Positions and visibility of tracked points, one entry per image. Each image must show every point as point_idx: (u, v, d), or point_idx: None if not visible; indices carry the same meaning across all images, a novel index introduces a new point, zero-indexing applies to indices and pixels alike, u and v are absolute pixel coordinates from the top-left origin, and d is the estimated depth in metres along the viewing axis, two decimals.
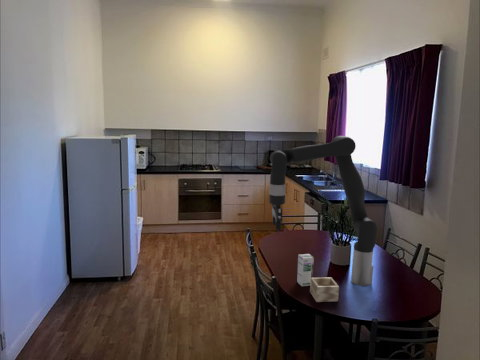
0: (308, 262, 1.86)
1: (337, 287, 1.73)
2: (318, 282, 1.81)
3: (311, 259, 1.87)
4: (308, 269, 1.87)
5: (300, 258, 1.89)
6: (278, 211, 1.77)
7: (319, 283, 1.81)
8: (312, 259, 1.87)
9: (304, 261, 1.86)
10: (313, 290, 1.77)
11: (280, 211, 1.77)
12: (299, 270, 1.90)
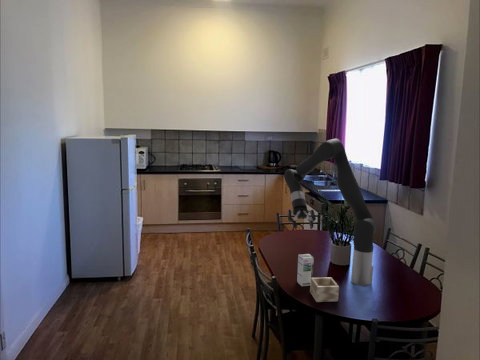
0: (308, 262, 1.86)
1: (337, 287, 1.73)
2: (318, 282, 1.81)
3: (311, 259, 1.87)
4: (308, 269, 1.87)
5: (300, 258, 1.88)
6: None
7: (319, 283, 1.81)
8: (312, 259, 1.87)
9: (304, 261, 1.86)
10: (313, 290, 1.77)
11: (288, 212, 2.03)
12: (299, 270, 1.90)
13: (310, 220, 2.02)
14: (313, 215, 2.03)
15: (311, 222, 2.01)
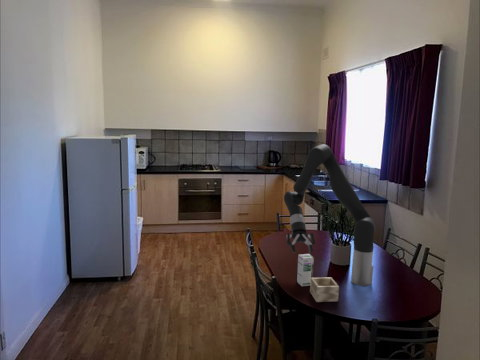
0: (308, 262, 1.86)
1: (337, 287, 1.73)
2: (318, 282, 1.81)
3: (311, 259, 1.87)
4: (308, 269, 1.87)
5: (300, 258, 1.88)
6: (286, 236, 2.00)
7: (319, 283, 1.81)
8: (312, 259, 1.87)
9: (304, 261, 1.86)
10: (313, 290, 1.77)
11: (287, 236, 1.99)
12: (299, 270, 1.90)
13: (309, 244, 1.97)
14: (312, 239, 1.99)
15: (310, 246, 1.96)
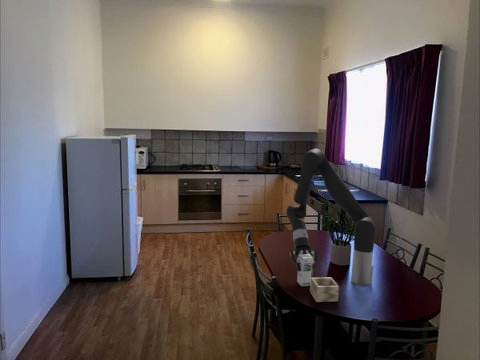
0: (308, 262, 1.86)
1: (337, 287, 1.73)
2: (318, 282, 1.81)
3: (311, 259, 1.87)
4: (308, 268, 1.87)
5: (300, 258, 1.88)
6: (290, 254, 1.93)
7: (319, 283, 1.81)
8: (312, 259, 1.87)
9: (304, 261, 1.86)
10: (313, 290, 1.77)
11: (290, 253, 1.92)
12: None
13: None
14: (315, 256, 1.92)
15: (313, 264, 1.89)
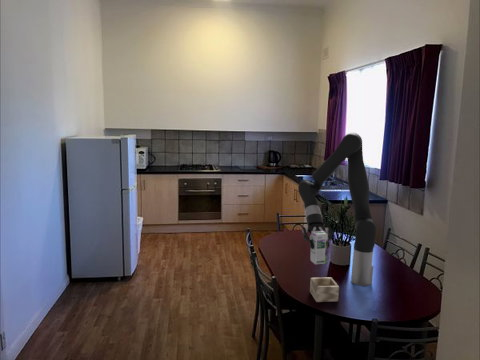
0: (321, 238, 1.76)
1: (337, 287, 1.73)
2: (318, 282, 1.81)
3: (325, 235, 1.77)
4: (322, 245, 1.77)
5: (313, 235, 1.78)
6: (302, 231, 1.83)
7: (319, 283, 1.81)
8: (325, 235, 1.77)
9: (317, 237, 1.76)
10: (313, 290, 1.77)
11: (302, 230, 1.82)
12: None
13: None
14: (329, 233, 1.82)
15: (327, 241, 1.79)
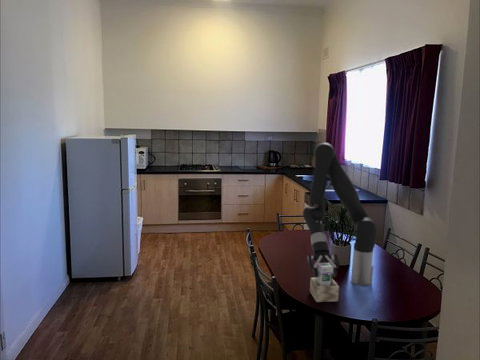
0: (327, 271, 1.73)
1: (337, 287, 1.73)
2: None
3: (330, 268, 1.74)
4: (327, 278, 1.74)
5: (318, 267, 1.76)
6: (307, 258, 1.80)
7: None
8: (331, 268, 1.74)
9: (323, 270, 1.73)
10: (313, 290, 1.77)
11: (308, 257, 1.79)
12: (317, 279, 1.77)
13: (333, 267, 1.77)
14: (336, 261, 1.79)
15: (334, 269, 1.76)
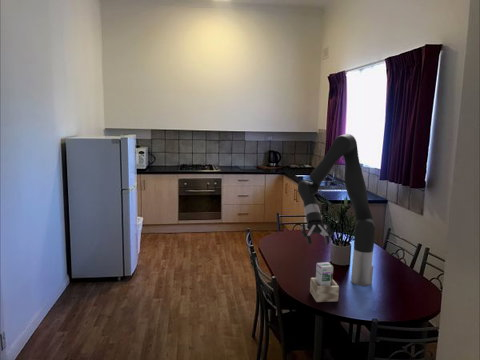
0: (327, 271, 1.73)
1: (337, 287, 1.73)
2: None
3: (330, 268, 1.74)
4: (327, 278, 1.74)
5: (318, 267, 1.76)
6: (301, 227, 1.91)
7: None
8: (331, 268, 1.74)
9: (323, 270, 1.73)
10: (313, 290, 1.77)
11: (302, 227, 1.90)
12: (317, 279, 1.77)
13: (326, 235, 1.89)
14: (329, 230, 1.90)
15: (327, 237, 1.88)
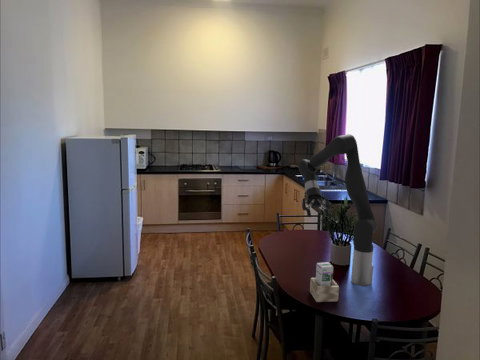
0: (327, 271, 1.73)
1: (337, 287, 1.73)
2: None
3: (330, 268, 1.74)
4: (327, 278, 1.74)
5: (318, 267, 1.76)
6: (302, 202, 2.05)
7: None
8: (331, 268, 1.74)
9: (323, 270, 1.73)
10: (313, 290, 1.77)
11: (302, 201, 2.04)
12: (317, 279, 1.77)
13: (324, 209, 2.02)
14: (327, 204, 2.03)
15: (325, 211, 2.01)
